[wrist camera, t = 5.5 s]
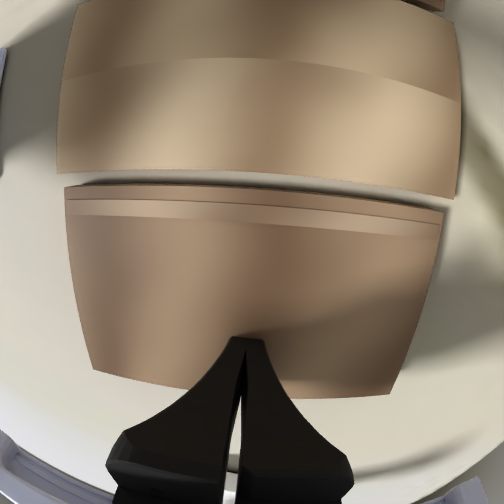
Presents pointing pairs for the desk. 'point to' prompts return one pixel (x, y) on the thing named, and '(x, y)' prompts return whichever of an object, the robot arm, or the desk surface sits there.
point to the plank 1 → (249, 282)
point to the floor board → (264, 90)
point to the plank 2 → (430, 4)
